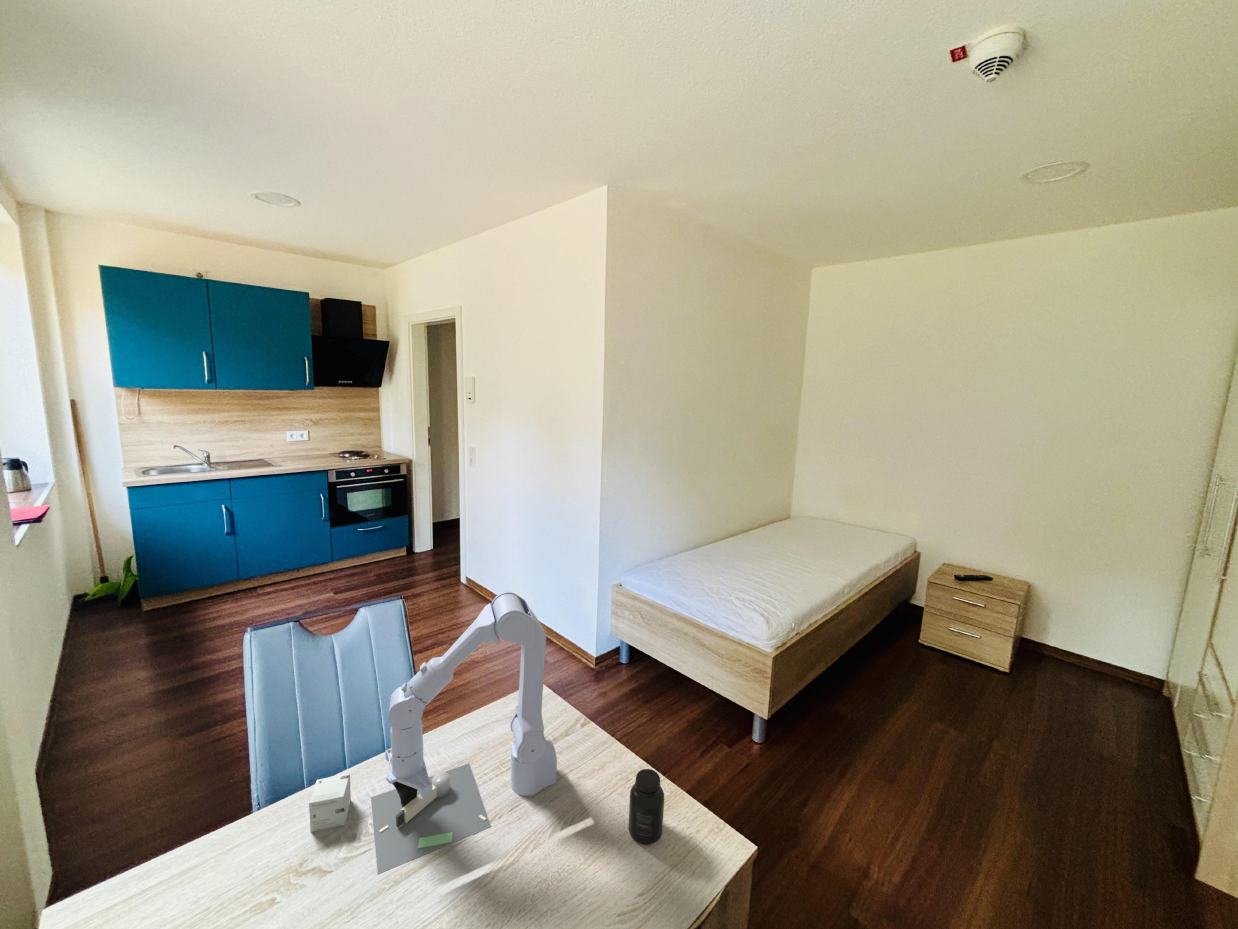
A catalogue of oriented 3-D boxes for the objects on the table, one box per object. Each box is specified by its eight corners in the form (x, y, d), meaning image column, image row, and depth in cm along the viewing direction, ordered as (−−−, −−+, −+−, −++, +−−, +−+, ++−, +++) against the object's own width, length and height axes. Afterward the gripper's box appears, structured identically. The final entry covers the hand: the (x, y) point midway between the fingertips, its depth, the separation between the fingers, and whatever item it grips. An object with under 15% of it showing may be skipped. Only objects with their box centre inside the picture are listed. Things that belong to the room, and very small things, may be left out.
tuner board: (469, 767, 111) (469, 762, 111) (491, 831, 96) (491, 825, 96) (371, 801, 101) (370, 796, 101) (377, 879, 86) (377, 873, 86)
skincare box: (310, 837, 93) (307, 803, 92) (318, 810, 99) (316, 778, 98) (346, 829, 95) (344, 796, 94) (352, 803, 101) (350, 772, 99)
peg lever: (442, 781, 106) (442, 769, 105) (453, 789, 104) (453, 777, 103) (391, 824, 95) (390, 811, 95) (403, 833, 94) (402, 820, 93)
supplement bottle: (669, 831, 98) (672, 778, 96) (647, 854, 93) (650, 799, 91) (643, 809, 102) (646, 759, 100) (620, 830, 97) (623, 777, 95)
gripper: (369, 739, 97) (372, 799, 99) (406, 779, 88) (408, 843, 90) (403, 721, 102) (405, 778, 105) (442, 757, 93) (443, 818, 96)
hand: (409, 806), depth 98 cm, fingers closed, pressing on peg lever
